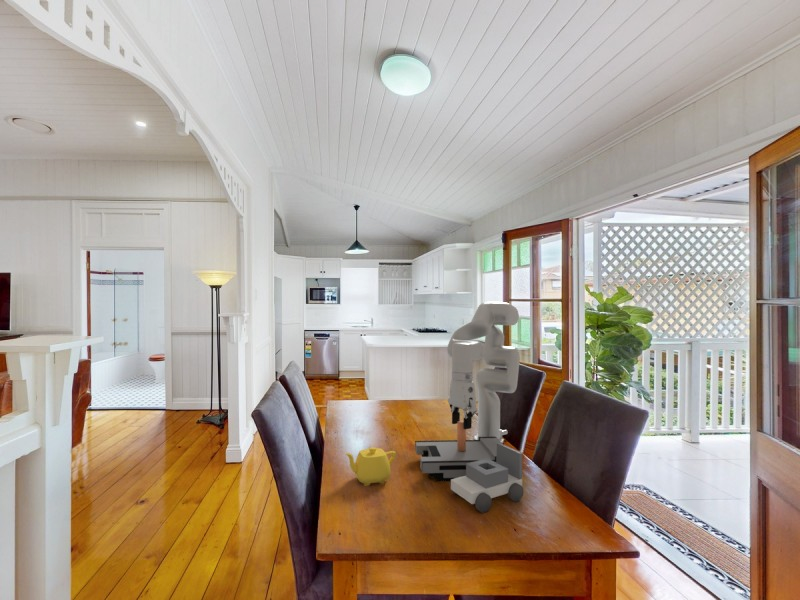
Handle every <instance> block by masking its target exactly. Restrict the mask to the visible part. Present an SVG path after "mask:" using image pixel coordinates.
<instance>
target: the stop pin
mask: <svg viewBox="0 0 800 600" xmlns="http://www.w3.org/2000/svg"><path fill="white" fill-rule="evenodd" d="M463 425H464V420H460V421H458V422H457V426H456V427H457V438H456V440H457V450H458V451H466V440H467V437H466V436H467V433H466V431H467V429H464V428H463Z"/></svg>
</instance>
